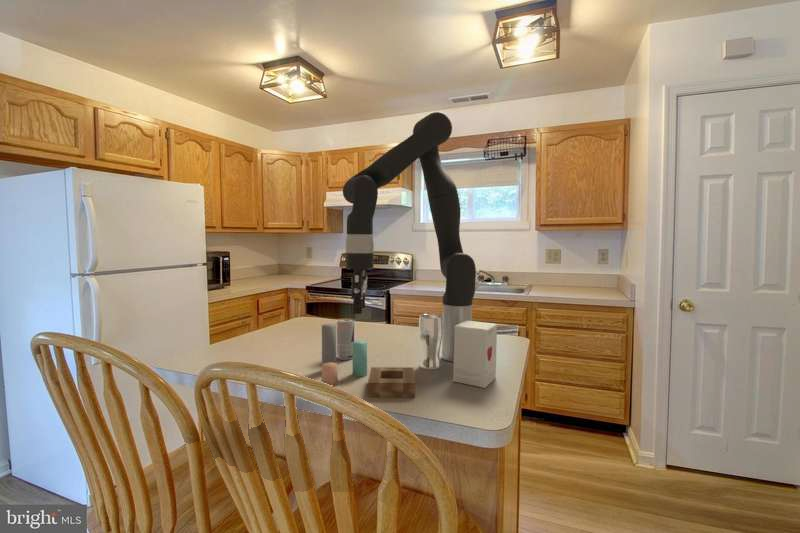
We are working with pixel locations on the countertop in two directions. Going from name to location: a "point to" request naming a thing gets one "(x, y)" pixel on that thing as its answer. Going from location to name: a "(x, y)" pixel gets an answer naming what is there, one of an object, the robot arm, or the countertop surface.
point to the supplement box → (475, 353)
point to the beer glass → (430, 340)
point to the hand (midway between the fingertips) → (359, 310)
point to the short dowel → (330, 373)
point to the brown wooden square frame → (391, 382)
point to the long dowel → (328, 343)
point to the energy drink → (345, 339)
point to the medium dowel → (359, 358)
